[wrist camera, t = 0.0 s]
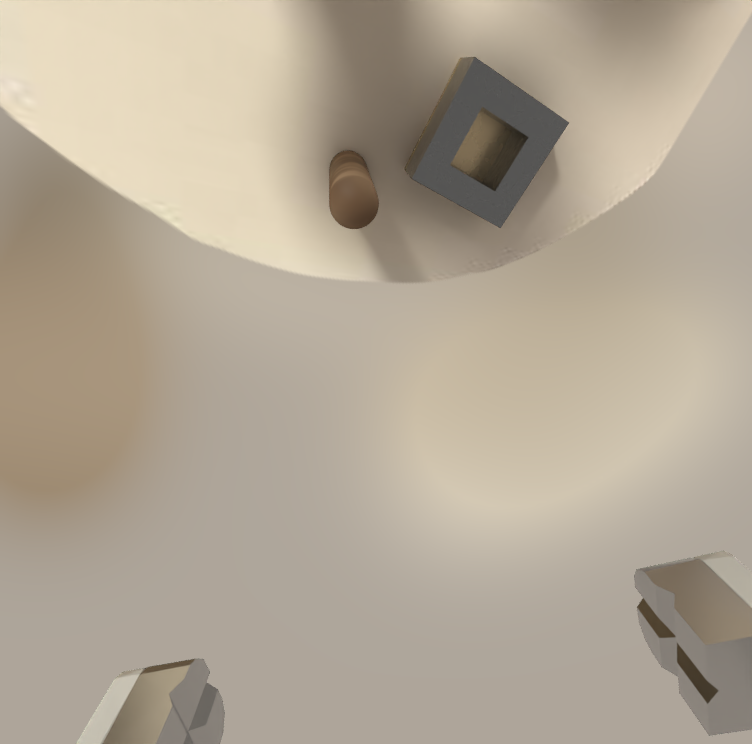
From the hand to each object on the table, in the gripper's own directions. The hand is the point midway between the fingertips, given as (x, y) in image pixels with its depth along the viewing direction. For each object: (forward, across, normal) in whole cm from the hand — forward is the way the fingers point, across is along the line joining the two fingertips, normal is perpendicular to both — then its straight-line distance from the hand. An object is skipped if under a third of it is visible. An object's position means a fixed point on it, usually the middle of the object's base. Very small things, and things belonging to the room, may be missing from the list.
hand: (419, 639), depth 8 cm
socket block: (+50, -15, -15) cm, 54 cm away
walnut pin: (+50, 0, -16) cm, 52 cm away
